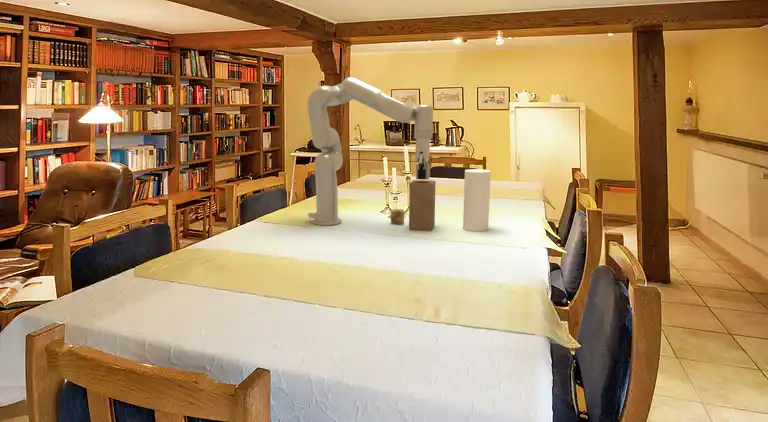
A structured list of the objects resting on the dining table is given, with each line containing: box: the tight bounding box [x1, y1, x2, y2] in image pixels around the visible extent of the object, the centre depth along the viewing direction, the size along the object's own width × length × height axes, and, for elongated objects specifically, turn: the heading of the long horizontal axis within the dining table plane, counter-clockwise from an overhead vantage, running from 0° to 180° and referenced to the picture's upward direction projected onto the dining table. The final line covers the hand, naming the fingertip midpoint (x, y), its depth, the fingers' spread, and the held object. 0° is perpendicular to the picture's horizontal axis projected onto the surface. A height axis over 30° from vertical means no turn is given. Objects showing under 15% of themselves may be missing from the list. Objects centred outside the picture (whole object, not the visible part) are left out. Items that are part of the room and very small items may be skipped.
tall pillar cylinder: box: [462, 168, 492, 232], centre depth 219 cm, size 11×11×25 cm
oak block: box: [390, 208, 405, 226], centre depth 231 cm, size 5×5×6 cm
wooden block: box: [408, 179, 436, 232], centre depth 221 cm, size 10×10×20 cm
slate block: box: [415, 163, 431, 181], centre depth 218 cm, size 5×5×6 cm
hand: (422, 177), depth 218 cm, fingers closed on slate block, 4 cm apart
